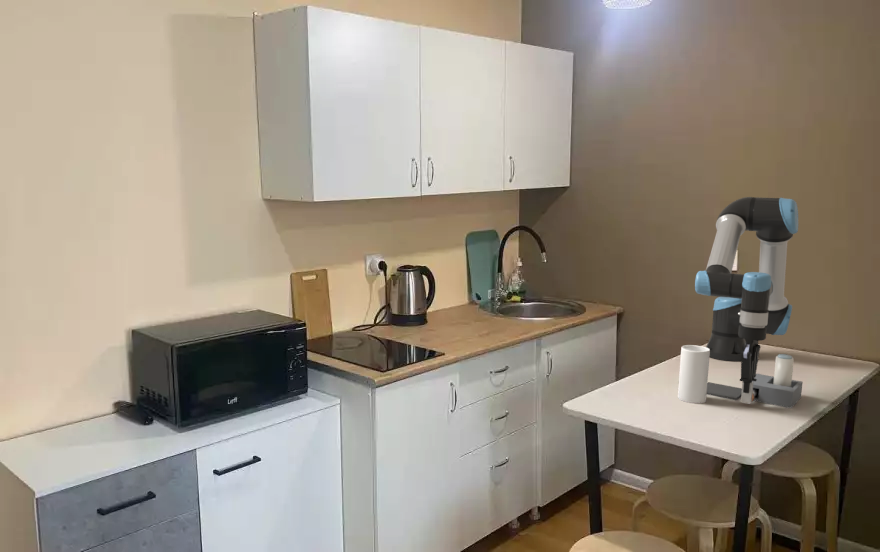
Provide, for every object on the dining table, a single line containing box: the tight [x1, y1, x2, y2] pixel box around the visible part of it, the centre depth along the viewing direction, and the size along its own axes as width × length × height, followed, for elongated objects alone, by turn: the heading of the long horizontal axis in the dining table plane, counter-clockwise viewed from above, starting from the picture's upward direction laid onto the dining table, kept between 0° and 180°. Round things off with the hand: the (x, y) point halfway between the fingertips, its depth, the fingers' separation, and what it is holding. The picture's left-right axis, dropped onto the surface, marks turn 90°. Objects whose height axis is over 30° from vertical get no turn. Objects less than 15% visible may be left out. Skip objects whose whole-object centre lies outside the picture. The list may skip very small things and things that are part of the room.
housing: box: [752, 373, 804, 409], centre depth 224 cm, size 14×14×5 cm
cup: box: [677, 344, 710, 404], centre depth 220 cm, size 8×8×16 cm
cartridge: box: [773, 353, 795, 387], centre depth 223 cm, size 5×5×14 cm
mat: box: [706, 381, 742, 401], centre depth 230 cm, size 12×12×1 cm
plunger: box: [746, 388, 759, 404], centre depth 220 cm, size 10×3×3 cm, turn 143°
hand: (746, 402), depth 216 cm, fingers closed
